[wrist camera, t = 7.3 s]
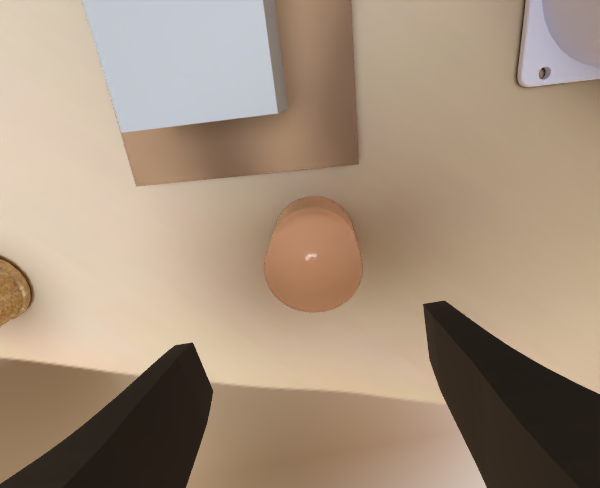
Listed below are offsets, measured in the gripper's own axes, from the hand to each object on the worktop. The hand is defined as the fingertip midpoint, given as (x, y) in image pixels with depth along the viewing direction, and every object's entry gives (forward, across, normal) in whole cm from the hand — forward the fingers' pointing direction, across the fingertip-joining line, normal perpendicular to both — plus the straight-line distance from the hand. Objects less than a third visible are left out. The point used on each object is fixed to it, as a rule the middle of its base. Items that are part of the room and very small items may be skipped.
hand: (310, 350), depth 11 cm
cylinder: (+10, 0, 0) cm, 10 cm away
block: (+8, +2, -10) cm, 13 cm away
